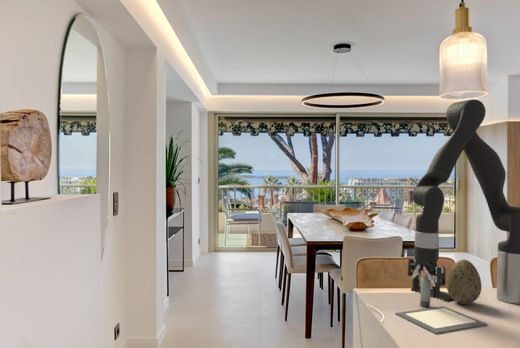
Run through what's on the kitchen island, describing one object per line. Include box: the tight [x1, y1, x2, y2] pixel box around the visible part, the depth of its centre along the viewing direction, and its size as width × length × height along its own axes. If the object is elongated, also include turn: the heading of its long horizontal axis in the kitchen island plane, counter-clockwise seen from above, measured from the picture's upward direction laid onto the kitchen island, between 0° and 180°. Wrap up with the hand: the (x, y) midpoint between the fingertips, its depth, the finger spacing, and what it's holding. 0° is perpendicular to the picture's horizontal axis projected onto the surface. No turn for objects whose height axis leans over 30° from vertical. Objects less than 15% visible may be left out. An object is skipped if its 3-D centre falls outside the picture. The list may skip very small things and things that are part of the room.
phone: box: [410, 285, 455, 302], centre depth 145 cm, size 8×1×15 cm
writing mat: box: [395, 305, 488, 335], centre depth 120 cm, size 20×16×1 cm
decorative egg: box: [445, 259, 482, 305], centre depth 136 cm, size 11×11×15 cm
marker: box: [419, 270, 432, 309], centre depth 132 cm, size 3×3×12 cm
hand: (425, 293), depth 132 cm, fingers open, 8 cm apart
